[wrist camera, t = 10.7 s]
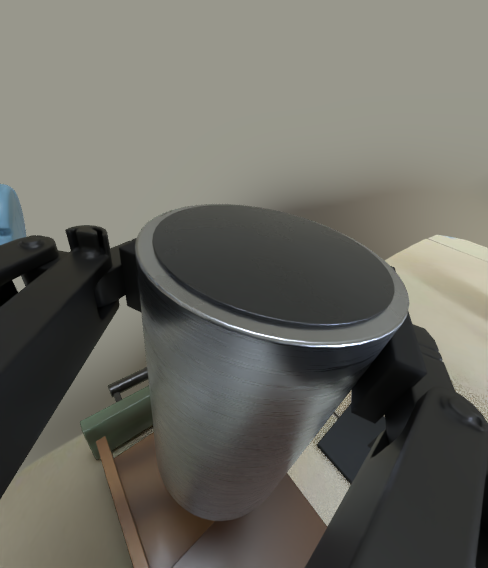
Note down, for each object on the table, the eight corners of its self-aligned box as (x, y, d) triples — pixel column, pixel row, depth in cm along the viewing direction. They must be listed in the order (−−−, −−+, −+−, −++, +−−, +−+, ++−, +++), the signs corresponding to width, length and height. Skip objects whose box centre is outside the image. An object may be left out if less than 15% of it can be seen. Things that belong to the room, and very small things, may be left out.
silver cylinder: (130, 511, 12) (47, 298, 4) (178, 368, 19) (182, 189, 11) (291, 530, 12) (501, 373, 4) (279, 384, 19) (353, 222, 11)
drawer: (83, 417, 28) (70, 386, 24) (177, 369, 36) (178, 339, 32) (149, 644, 17) (142, 652, 13) (265, 504, 25) (282, 484, 21)
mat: (408, 549, 24) (411, 548, 24) (316, 445, 31) (317, 443, 31) (436, 466, 32) (439, 464, 31) (357, 396, 38) (358, 394, 38)
